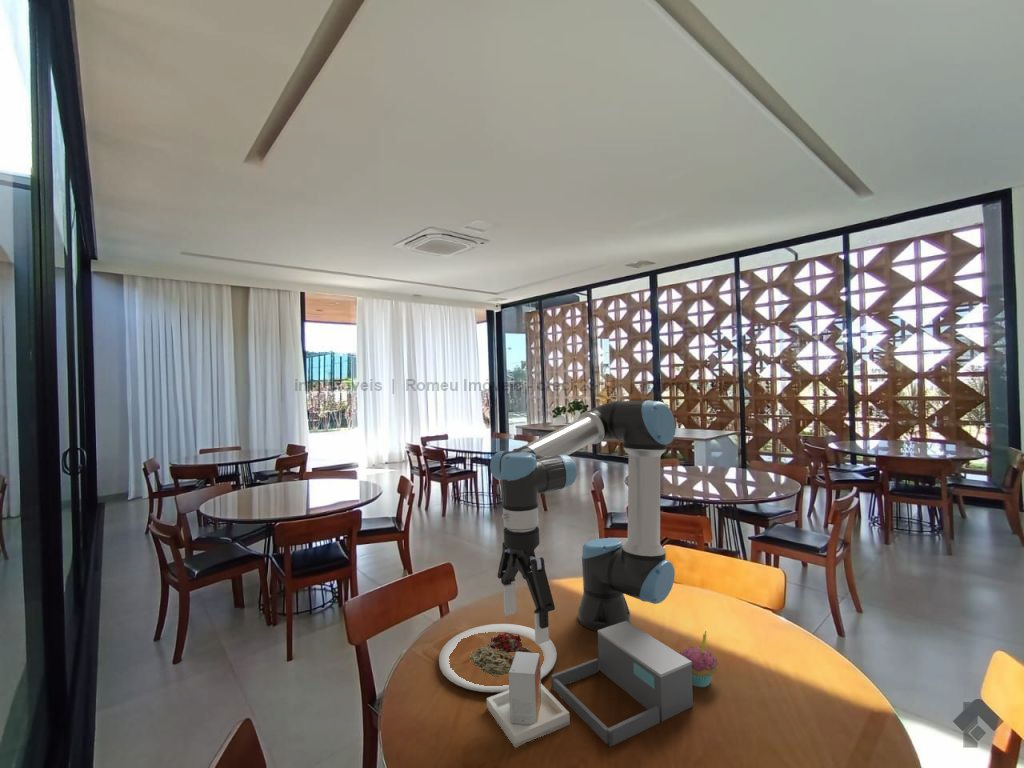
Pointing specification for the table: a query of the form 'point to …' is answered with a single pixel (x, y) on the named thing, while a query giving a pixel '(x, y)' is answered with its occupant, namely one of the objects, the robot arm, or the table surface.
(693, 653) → the cupcake
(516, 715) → the small box
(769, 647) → the table surface
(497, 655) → the plated food
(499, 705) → the tray
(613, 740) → the printer
